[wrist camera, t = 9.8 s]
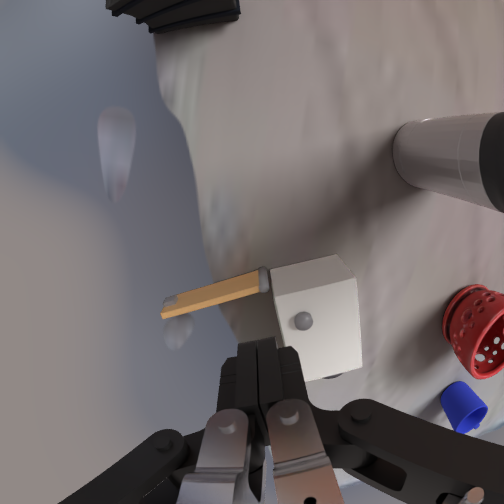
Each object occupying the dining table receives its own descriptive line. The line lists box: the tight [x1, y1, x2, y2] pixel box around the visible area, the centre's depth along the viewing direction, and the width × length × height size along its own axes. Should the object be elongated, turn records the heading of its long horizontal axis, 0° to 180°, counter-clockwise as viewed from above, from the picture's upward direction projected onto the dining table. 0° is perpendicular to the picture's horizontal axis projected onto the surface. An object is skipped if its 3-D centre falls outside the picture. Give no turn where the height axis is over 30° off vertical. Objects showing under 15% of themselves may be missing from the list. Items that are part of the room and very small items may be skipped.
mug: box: [441, 381, 488, 434], centre depth 44 cm, size 8×12×10 cm
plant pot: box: [442, 284, 504, 379], centre depth 37 cm, size 13×13×12 cm
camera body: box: [270, 254, 362, 382], centre depth 37 cm, size 9×15×9 cm, turn 13°
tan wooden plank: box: [160, 267, 269, 319], centre depth 38 cm, size 2×14×5 cm, turn 108°
